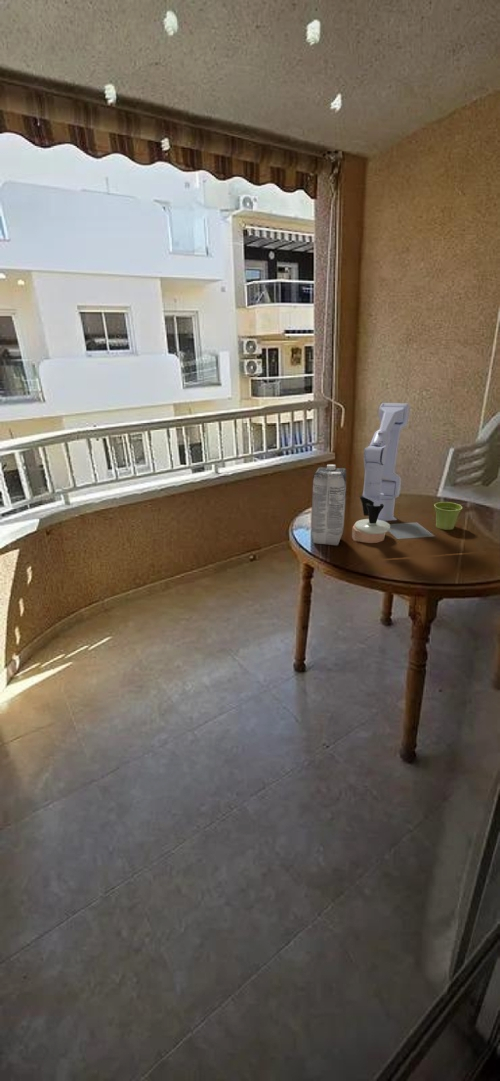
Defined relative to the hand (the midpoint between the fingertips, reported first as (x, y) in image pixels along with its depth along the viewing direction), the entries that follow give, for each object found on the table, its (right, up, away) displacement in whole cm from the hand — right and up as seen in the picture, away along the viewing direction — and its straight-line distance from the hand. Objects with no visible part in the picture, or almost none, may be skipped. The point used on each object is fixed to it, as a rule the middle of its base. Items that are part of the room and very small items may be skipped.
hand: (369, 519), depth 153 cm
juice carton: (-15, -8, +2) cm, 17 cm away
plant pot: (+31, -3, +9) cm, 32 cm away
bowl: (0, -7, +3) cm, 7 cm away
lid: (+1, -3, +1) cm, 3 cm away
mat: (+16, -4, +7) cm, 18 cm away
